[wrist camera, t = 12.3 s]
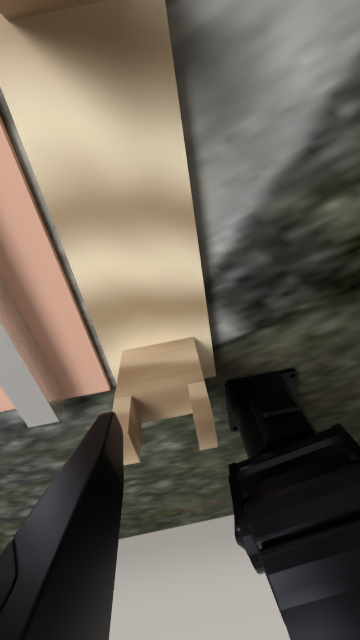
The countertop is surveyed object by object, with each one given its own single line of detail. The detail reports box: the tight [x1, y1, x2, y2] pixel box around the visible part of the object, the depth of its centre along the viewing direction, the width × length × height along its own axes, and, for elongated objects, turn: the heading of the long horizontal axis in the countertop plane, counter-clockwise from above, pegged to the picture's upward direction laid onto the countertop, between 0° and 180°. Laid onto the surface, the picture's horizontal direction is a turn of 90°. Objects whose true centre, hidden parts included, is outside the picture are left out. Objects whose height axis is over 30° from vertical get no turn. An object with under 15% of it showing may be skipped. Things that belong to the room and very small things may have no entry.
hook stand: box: [0, 0, 218, 465], centre depth 13 cm, size 26×8×9 cm, turn 10°
